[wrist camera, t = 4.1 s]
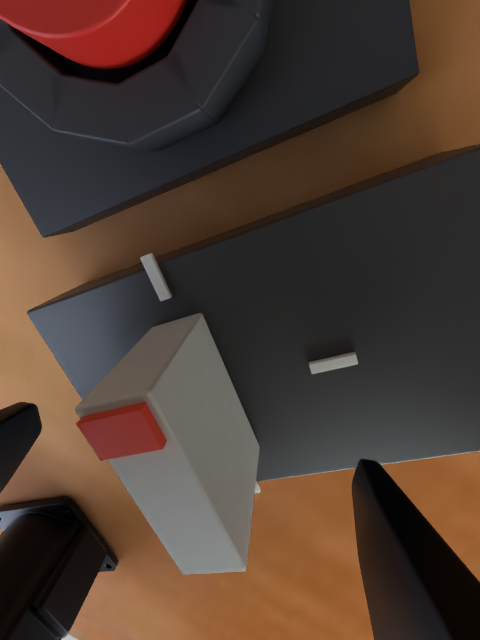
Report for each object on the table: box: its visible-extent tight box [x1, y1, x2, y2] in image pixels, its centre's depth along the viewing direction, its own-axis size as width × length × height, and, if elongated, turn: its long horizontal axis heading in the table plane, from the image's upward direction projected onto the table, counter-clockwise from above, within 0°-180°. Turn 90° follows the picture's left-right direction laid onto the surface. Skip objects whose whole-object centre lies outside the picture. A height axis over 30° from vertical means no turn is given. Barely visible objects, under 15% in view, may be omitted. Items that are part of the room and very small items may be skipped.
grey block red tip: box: [75, 313, 260, 574], centre depth 9 cm, size 6×2×4 cm, turn 20°
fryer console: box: [27, 144, 480, 493], centre depth 11 cm, size 14×10×3 cm
